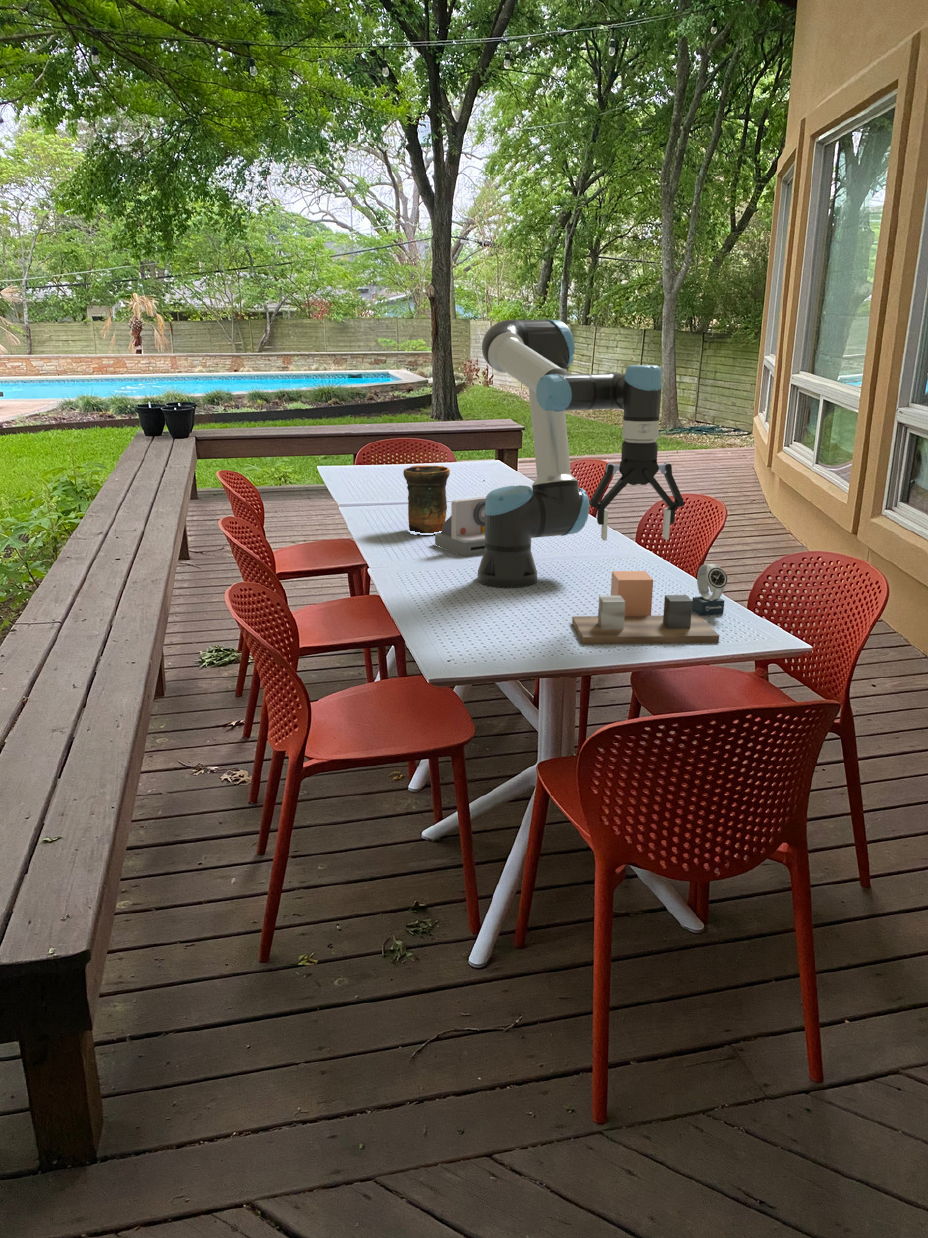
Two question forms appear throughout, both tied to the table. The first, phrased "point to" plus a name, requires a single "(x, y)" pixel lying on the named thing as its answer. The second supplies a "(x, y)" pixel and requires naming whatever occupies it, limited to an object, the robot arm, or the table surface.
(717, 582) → the watch
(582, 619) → the post board
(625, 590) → the peach cube
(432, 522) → the vessel
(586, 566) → the table surface
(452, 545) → the instant camera
